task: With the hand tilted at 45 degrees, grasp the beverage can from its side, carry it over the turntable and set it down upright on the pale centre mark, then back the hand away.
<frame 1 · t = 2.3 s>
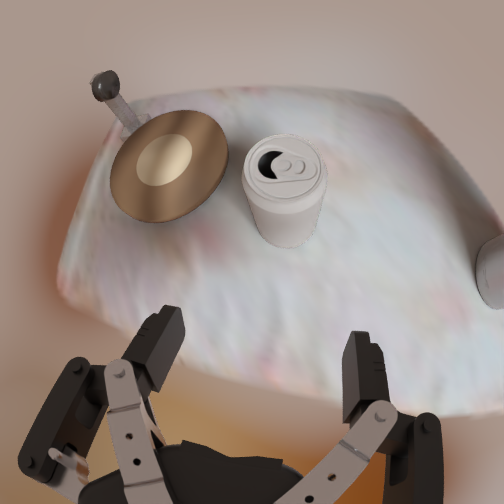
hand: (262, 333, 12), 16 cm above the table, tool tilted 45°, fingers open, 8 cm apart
turntable: (164, 160, 31), point 2 cm above the table, hinge at 0.0°
beverage can: (286, 222, 30), on the table
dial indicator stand: (136, 129, 36), on the table
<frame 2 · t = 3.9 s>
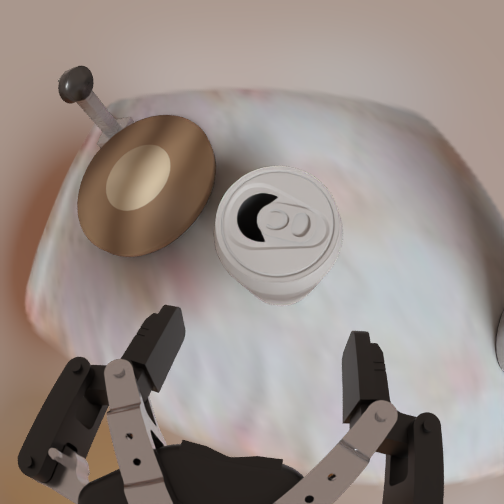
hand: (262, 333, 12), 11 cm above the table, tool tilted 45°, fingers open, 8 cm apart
turntable: (138, 178, 25), point 2 cm above the table, hinge at 0.0°
beverage can: (281, 269, 24), on the table
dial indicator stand: (116, 134, 30), on the table
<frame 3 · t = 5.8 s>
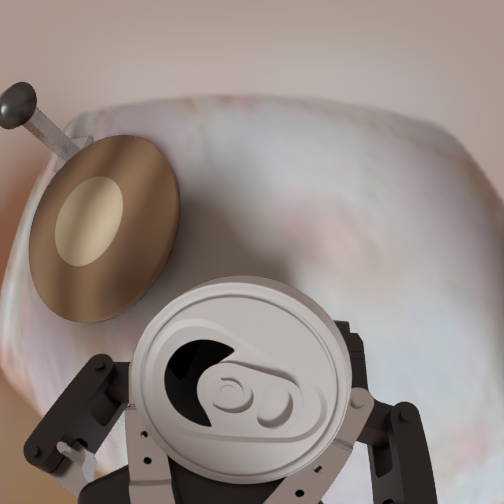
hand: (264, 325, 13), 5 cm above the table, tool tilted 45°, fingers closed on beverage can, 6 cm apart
turntable: (89, 221, 19), point 2 cm above the table, hinge at 0.0°
beverage can: (266, 348, 18), on the table, touching gripper
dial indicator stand: (75, 157, 24), on the table
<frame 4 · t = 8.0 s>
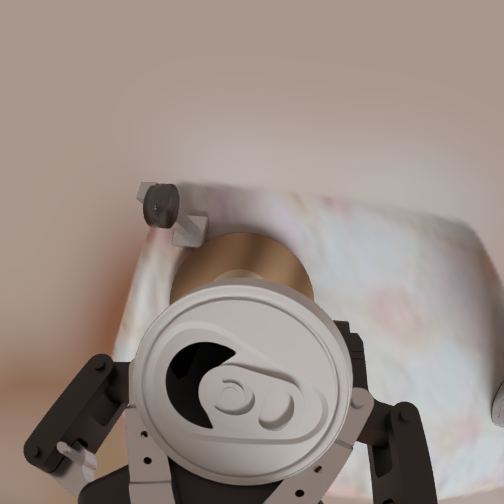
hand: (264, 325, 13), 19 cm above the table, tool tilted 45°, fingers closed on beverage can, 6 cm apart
turntable: (239, 304, 29), point 2 cm above the table, hinge at 0.0°
beverage can: (266, 349, 18), point 13 cm above the table, touching gripper
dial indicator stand: (191, 232, 35), on the table
when the fingers open (9 cm above the table, at t = 10.7 s): beverage can stays where it is, resting on turntable.
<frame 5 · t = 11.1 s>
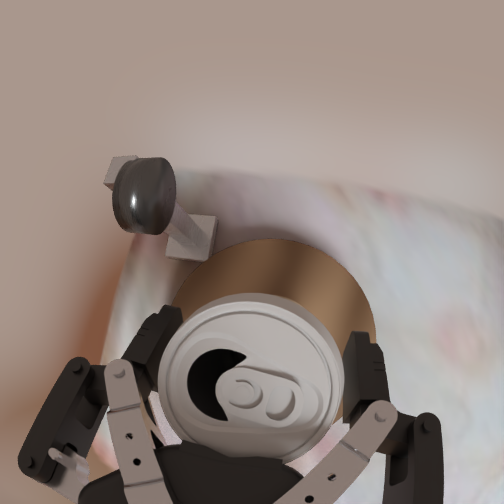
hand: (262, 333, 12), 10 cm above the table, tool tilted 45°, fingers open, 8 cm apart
turntable: (268, 346, 19), point 2 cm above the table, hinge at 0.0°, touching beverage can
beverage can: (268, 350, 19), point 2 cm above the table, touching turntable
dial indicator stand: (193, 239, 24), on the table
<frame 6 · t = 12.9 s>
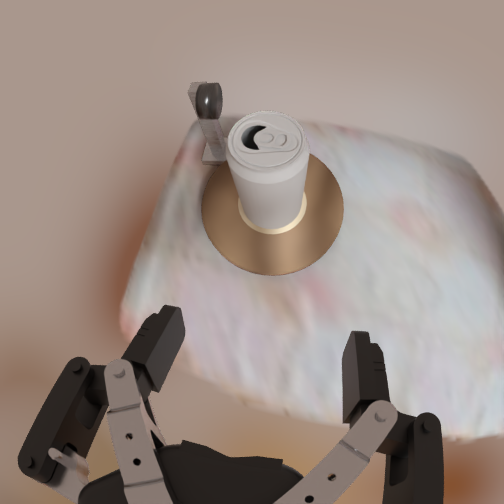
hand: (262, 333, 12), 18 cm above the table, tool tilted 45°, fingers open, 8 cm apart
turntable: (272, 203, 30), point 2 cm above the table, hinge at 0.0°, touching beverage can
beverage can: (272, 205, 30), point 2 cm above the table, touching turntable
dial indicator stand: (220, 152, 35), on the table
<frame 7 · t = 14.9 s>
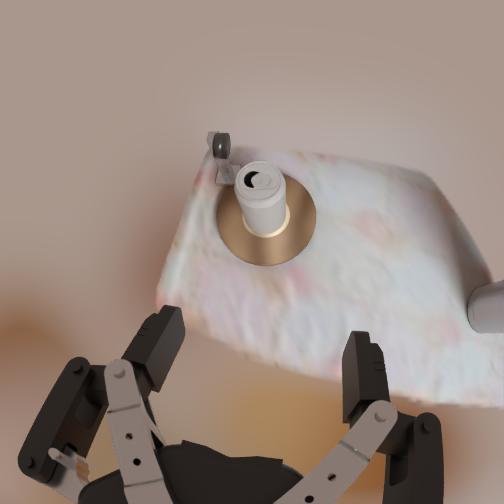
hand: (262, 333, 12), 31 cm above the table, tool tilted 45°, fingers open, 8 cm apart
turntable: (266, 216, 44), point 2 cm above the table, hinge at 0.0°, touching beverage can
beverage can: (266, 217, 44), point 2 cm above the table, touching turntable
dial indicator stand: (229, 176, 49), on the table
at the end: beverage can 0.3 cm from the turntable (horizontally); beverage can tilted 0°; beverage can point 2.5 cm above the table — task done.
